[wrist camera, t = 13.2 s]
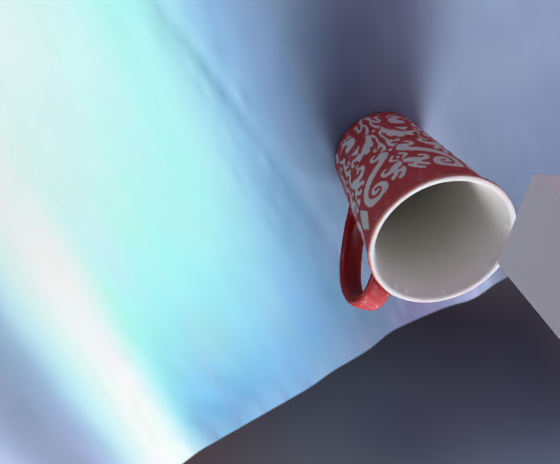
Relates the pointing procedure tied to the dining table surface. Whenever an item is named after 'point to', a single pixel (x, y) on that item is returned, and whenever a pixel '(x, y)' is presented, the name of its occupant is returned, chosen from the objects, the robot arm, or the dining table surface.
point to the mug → (415, 215)
